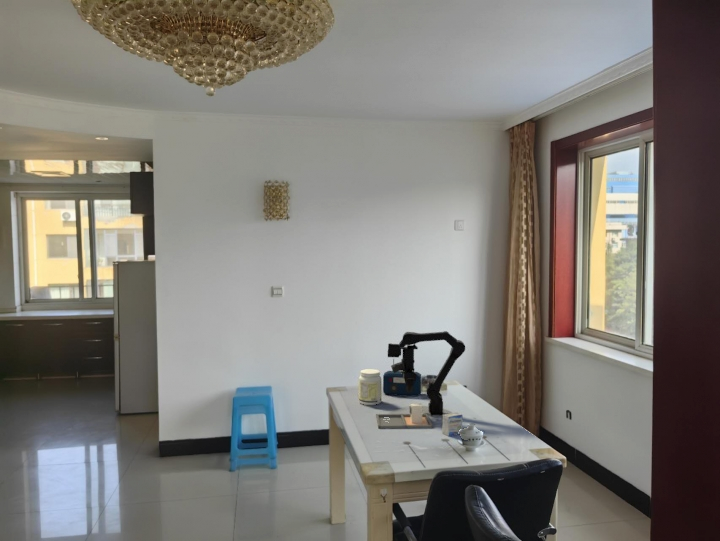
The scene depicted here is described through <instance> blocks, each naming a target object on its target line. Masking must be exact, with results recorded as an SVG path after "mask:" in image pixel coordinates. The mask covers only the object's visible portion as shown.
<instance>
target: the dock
mask: <svg viewBox="0 0 720 541" xmlns="http://www.w3.org/2000/svg"><path fill="white" fill-rule="evenodd" d="M384 417H389V418H390V420H387V419H389V418H384ZM375 418H376V423H377V428H378V429H380V430H381V429H383V428H384V429H386V428H388V429H433V428H434V424H433V423H432V420H431V419H430V416H429V415H428V413H422V423H411V414H410V413H376V414H375ZM383 419H386V420H383ZM385 421H388V422H389V423H388V422H385Z"/></svg>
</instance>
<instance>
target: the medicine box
mask: <svg viewBox="0 0 720 541" xmlns="http://www.w3.org/2000/svg"><path fill="white" fill-rule="evenodd" d="M463 416H464V415H463V414H462V413H460V412H452V413H445V414H444V415H442V434H443V435H445V436H447V437H452V435H453V436H457V435H456V434H458V432H459V430H460V429H462V430H463ZM458 435H459V434H458Z"/></svg>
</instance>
